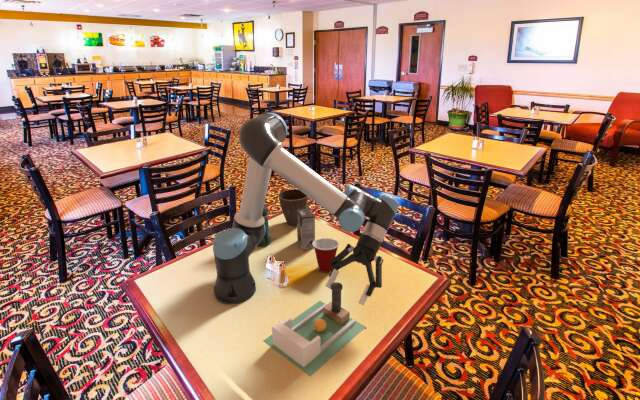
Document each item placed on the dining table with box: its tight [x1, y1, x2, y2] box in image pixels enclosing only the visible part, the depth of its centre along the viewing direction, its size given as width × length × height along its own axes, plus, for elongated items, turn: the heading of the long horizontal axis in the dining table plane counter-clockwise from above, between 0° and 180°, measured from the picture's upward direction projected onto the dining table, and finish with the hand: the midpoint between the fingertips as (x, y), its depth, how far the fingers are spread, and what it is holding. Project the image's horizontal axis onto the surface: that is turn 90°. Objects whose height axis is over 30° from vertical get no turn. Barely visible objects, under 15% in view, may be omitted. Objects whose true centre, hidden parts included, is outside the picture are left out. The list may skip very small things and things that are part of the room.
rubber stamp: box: [323, 281, 351, 326], centre depth 121 cm, size 8×4×12 cm, turn 48°
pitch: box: [262, 300, 367, 377], centre depth 116 cm, size 20×26×2 cm
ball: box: [314, 319, 326, 332], centre depth 117 cm, size 4×4×4 cm
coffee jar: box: [257, 205, 272, 247], centre depth 169 cm, size 10×8×19 cm
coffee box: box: [296, 207, 316, 251], centre depth 168 cm, size 9×6×16 cm
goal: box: [271, 316, 321, 367], centre depth 109 cm, size 13×7×7 cm, turn 48°
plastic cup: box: [312, 237, 340, 273], centre depth 150 cm, size 11×11×12 cm
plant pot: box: [277, 188, 309, 227], centre depth 188 cm, size 15×15×16 cm
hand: (343, 295), depth 121 cm, fingers open, 13 cm apart
